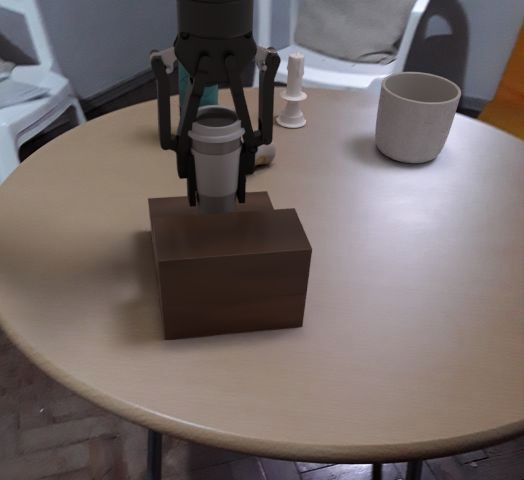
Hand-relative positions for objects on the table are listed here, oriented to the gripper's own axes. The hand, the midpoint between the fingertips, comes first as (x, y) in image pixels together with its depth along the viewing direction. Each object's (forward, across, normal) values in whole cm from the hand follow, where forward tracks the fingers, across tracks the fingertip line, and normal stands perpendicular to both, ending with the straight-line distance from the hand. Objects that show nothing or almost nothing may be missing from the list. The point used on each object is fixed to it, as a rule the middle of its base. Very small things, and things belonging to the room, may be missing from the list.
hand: (216, 198), depth 76 cm
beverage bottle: (+9, -2, -33) cm, 34 cm away
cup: (+2, 0, 0) cm, 2 cm away
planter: (+9, -36, -25) cm, 45 cm away
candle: (+9, -19, -38) cm, 43 cm away
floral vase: (+9, -8, -23) cm, 26 cm away
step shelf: (+9, 0, +4) cm, 9 cm away
